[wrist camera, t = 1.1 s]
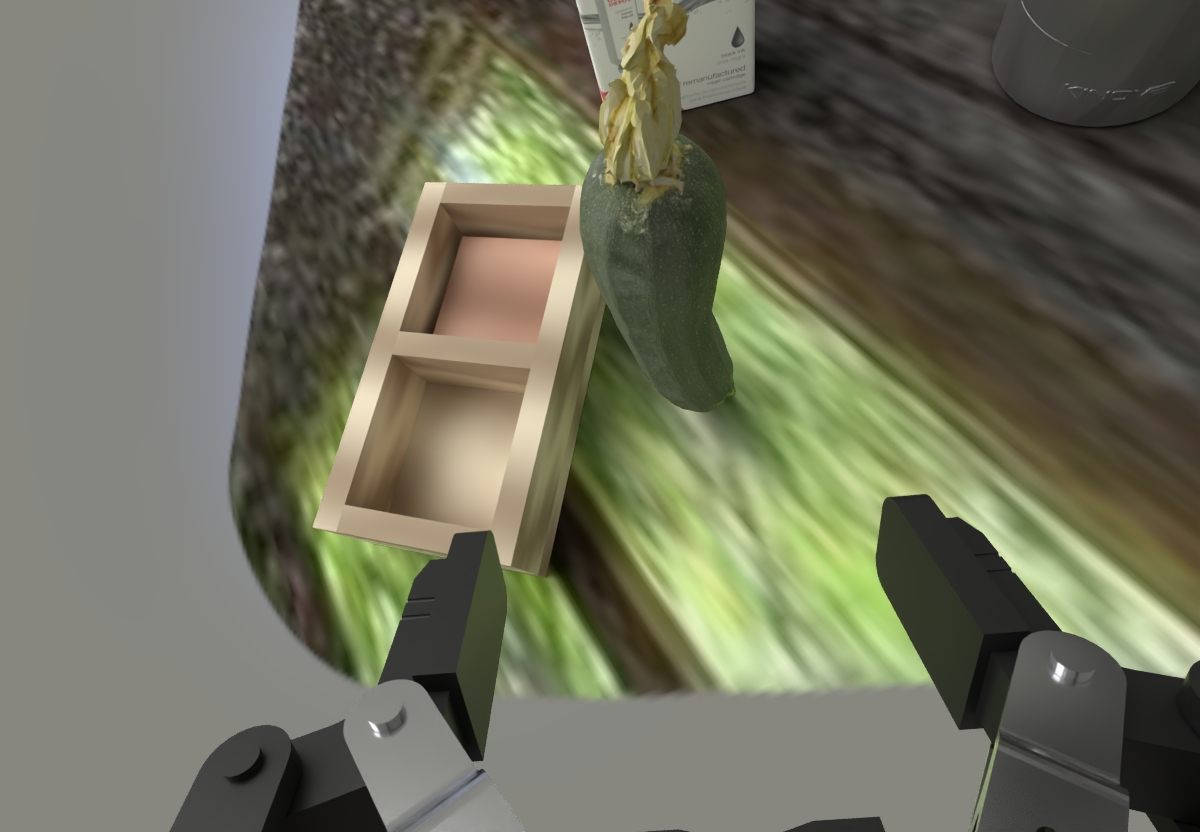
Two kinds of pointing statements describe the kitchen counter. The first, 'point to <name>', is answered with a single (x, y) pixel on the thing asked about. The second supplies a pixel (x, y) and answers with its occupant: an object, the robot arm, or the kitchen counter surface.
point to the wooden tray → (473, 378)
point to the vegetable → (658, 222)
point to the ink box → (680, 46)
